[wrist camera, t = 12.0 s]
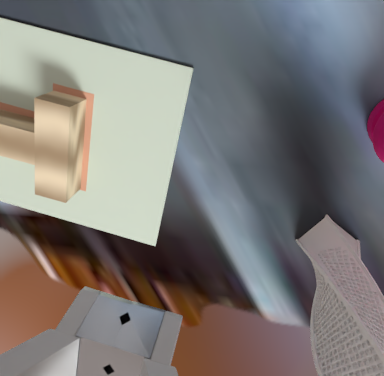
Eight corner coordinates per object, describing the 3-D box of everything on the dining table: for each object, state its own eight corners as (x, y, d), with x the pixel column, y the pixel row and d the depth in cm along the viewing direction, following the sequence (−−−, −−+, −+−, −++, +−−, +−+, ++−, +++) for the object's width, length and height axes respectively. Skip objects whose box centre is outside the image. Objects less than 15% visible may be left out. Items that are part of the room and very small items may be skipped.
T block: (-11, 73, 41) (-36, 79, 37) (86, 99, 40) (69, 107, 37) (-5, 164, 47) (-27, 177, 43) (80, 188, 46) (65, 203, 42)
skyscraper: (375, 242, 42) (538, 562, 18) (328, 276, 46) (409, 585, 21) (327, 203, 41) (430, 487, 16) (282, 241, 44) (311, 524, 20)
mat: (-26, 10, 38) (-28, 10, 38) (193, 68, 37) (193, 68, 37) (-13, 195, 50) (-15, 196, 49) (155, 244, 48) (155, 246, 48)
